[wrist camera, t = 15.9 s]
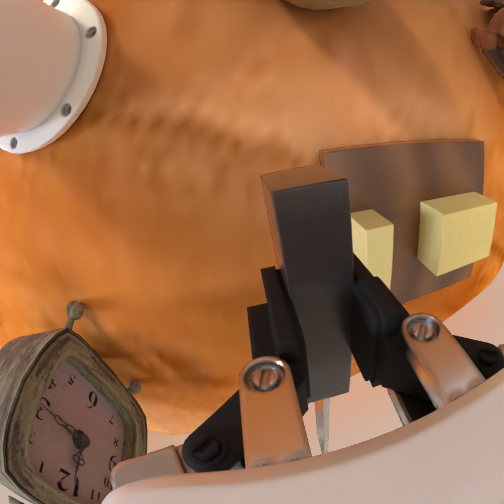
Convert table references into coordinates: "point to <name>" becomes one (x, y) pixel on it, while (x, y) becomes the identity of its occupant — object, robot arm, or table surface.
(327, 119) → the table surface
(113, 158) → the table surface
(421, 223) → the butter
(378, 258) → the butter slice
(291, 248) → the knife
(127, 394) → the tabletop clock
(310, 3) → the squeeze bottle
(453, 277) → the cutting board
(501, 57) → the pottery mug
